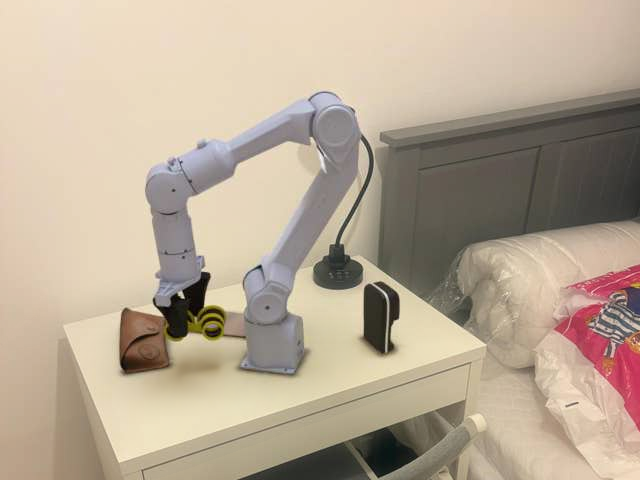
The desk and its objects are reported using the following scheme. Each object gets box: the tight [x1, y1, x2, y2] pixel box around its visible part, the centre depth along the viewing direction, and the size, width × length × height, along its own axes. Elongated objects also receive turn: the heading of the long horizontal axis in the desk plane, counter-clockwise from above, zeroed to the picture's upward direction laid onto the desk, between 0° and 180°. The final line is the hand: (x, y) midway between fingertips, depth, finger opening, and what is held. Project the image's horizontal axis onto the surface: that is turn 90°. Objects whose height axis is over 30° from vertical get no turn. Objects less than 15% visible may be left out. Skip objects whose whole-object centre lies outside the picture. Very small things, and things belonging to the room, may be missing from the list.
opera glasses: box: [164, 304, 226, 342], centre depth 106 cm, size 10×5×5 cm, turn 92°
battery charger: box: [362, 280, 401, 354], centre depth 113 cm, size 7×4×11 cm, turn 28°
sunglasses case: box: [118, 307, 171, 374], centre depth 117 cm, size 18×7×7 cm
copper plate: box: [190, 311, 246, 339], centre depth 124 cm, size 13×8×1 cm, turn 76°
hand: (188, 325), depth 107 cm, fingers closed on opera glasses, 6 cm apart
